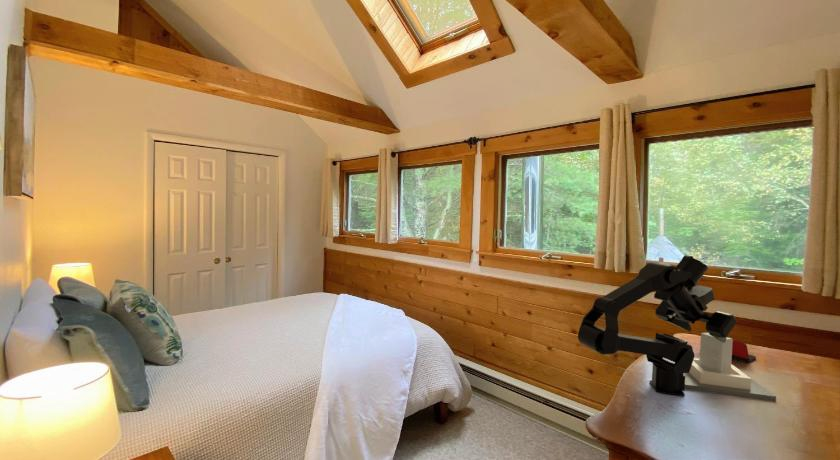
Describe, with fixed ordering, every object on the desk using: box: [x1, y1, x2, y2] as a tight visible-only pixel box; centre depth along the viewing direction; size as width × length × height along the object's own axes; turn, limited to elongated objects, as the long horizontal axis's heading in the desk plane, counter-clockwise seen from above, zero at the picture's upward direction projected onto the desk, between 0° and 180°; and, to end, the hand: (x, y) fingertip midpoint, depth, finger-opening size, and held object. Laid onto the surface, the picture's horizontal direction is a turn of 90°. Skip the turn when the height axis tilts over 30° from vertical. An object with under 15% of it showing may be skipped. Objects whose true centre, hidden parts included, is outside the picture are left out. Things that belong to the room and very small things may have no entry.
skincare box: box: [699, 332, 734, 374], centre depth 104 cm, size 6×4×12 cm
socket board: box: [683, 357, 777, 402], centre depth 104 cm, size 20×16×4 cm
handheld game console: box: [700, 333, 757, 364], centre depth 124 cm, size 12×11×7 cm
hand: (706, 335), depth 102 cm, fingers open, 9 cm apart
